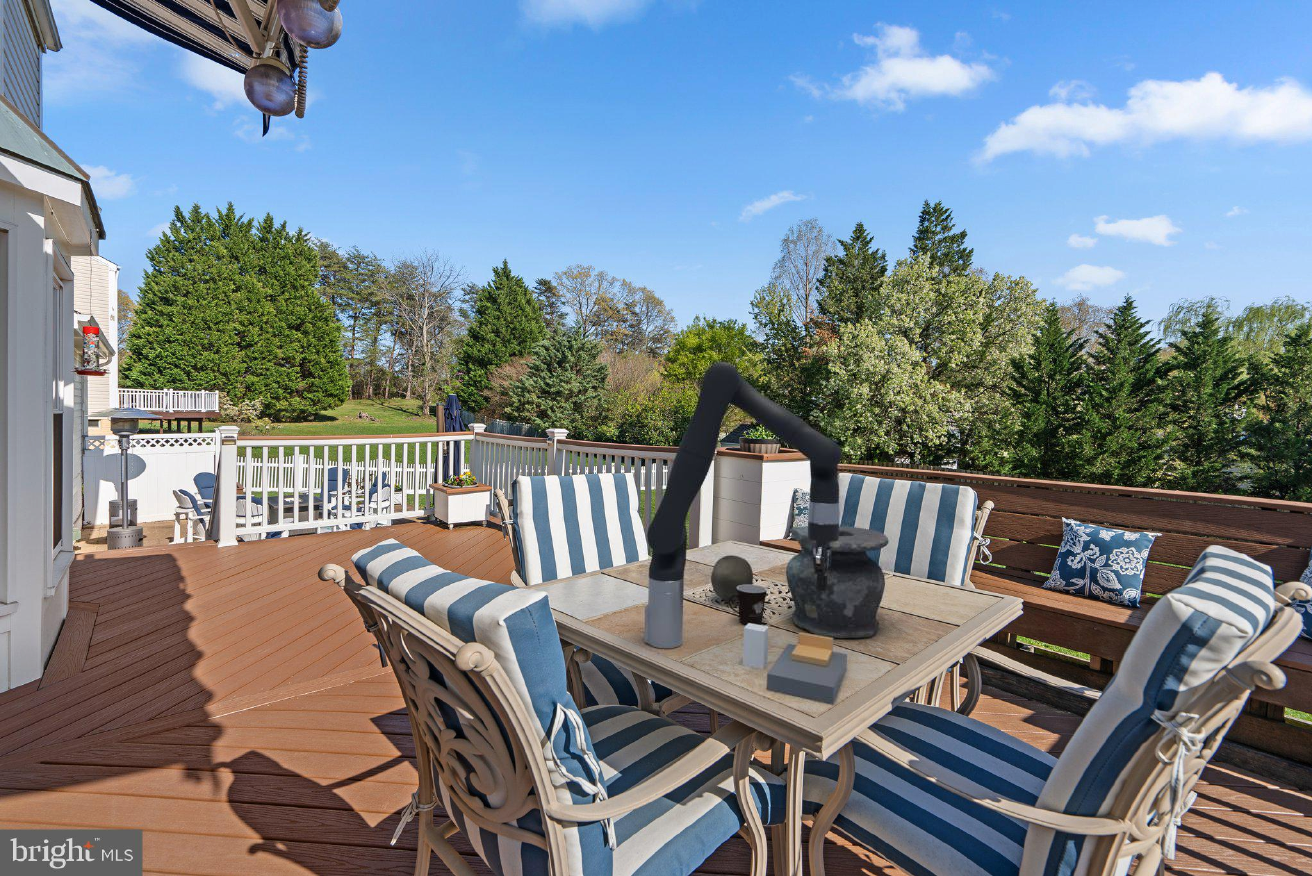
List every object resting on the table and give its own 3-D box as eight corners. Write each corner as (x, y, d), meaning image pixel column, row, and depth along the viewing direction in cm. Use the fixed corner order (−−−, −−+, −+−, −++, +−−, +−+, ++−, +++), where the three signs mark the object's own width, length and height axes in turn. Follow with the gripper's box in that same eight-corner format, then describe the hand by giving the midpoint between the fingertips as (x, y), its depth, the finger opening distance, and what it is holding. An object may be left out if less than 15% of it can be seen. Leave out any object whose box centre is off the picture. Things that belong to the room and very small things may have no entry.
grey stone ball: (701, 598, 192) (702, 553, 192) (737, 594, 198) (738, 550, 198) (724, 610, 180) (725, 562, 179) (762, 605, 186) (763, 559, 185)
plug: (742, 665, 139) (743, 628, 139) (747, 659, 142) (748, 623, 142) (763, 669, 137) (764, 631, 136) (767, 663, 140) (768, 626, 140)
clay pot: (899, 613, 176) (898, 518, 172) (875, 660, 151) (874, 550, 147) (805, 597, 192) (802, 509, 188) (770, 636, 167) (766, 537, 163)
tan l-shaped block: (791, 659, 134) (791, 642, 134) (798, 648, 141) (799, 632, 141) (827, 666, 130) (827, 649, 130) (832, 654, 137) (833, 638, 137)
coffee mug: (762, 617, 174) (763, 584, 174) (768, 627, 165) (769, 593, 165) (723, 617, 174) (724, 584, 173) (728, 627, 165) (729, 592, 165)
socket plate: (766, 689, 126) (767, 673, 126) (787, 657, 144) (788, 643, 144) (833, 704, 120) (833, 687, 120) (846, 668, 138) (847, 654, 138)
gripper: (813, 515, 152) (811, 581, 152) (802, 522, 139) (800, 594, 140) (843, 518, 148) (841, 585, 149) (834, 525, 136) (832, 599, 137)
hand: (821, 589), depth 144 cm, fingers closed
